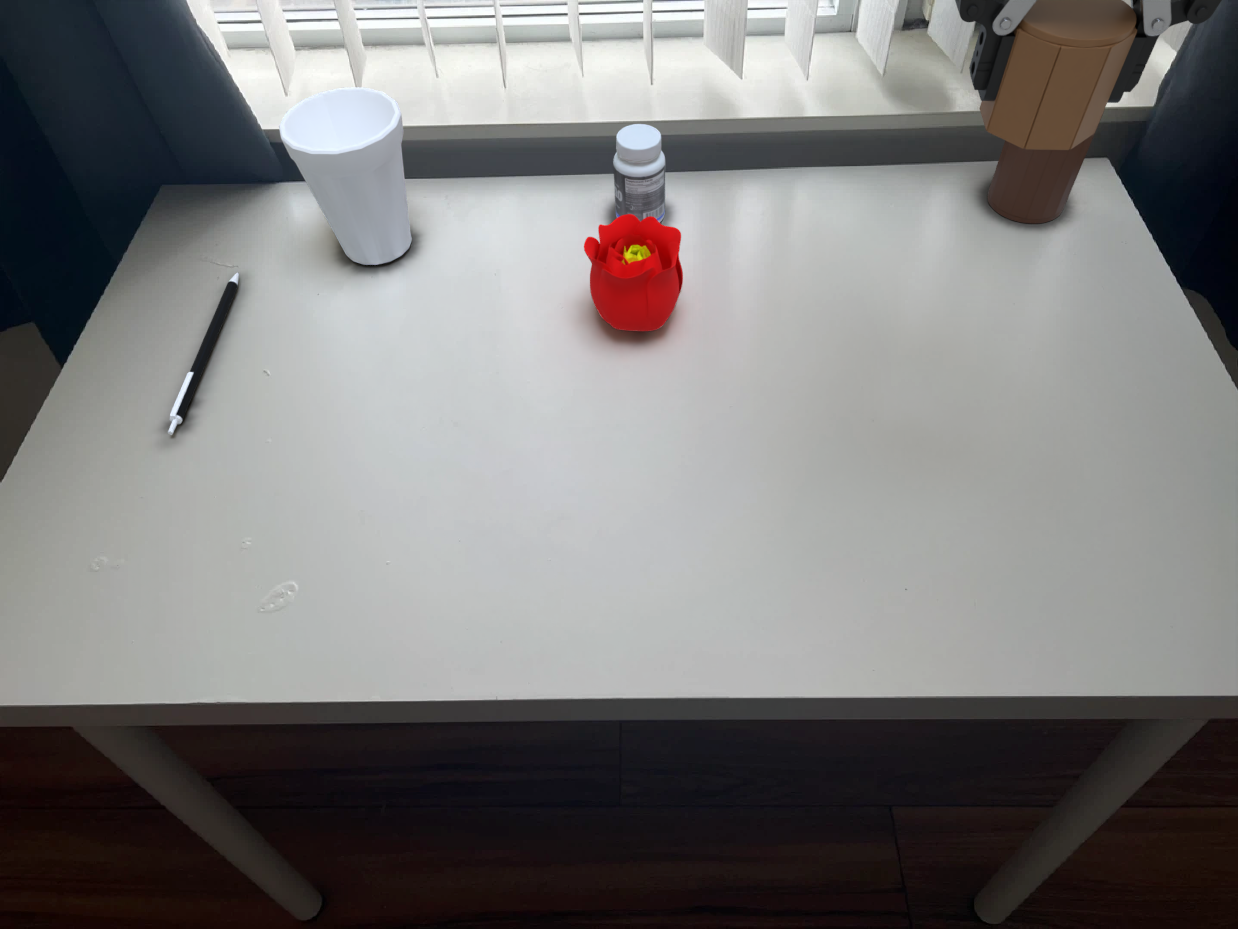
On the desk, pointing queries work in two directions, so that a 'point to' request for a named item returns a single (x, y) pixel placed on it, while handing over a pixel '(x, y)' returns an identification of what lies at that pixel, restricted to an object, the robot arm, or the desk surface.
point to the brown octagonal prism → (1060, 72)
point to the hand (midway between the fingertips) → (1046, 93)
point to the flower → (635, 272)
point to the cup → (354, 168)
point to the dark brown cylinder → (1035, 181)
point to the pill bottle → (639, 172)
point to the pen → (202, 355)
